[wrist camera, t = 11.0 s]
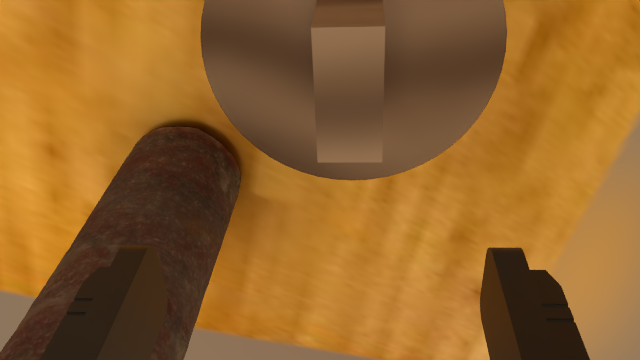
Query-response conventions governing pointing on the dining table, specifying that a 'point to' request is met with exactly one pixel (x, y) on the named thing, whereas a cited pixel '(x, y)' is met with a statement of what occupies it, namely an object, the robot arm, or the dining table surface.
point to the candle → (148, 235)
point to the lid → (353, 78)
